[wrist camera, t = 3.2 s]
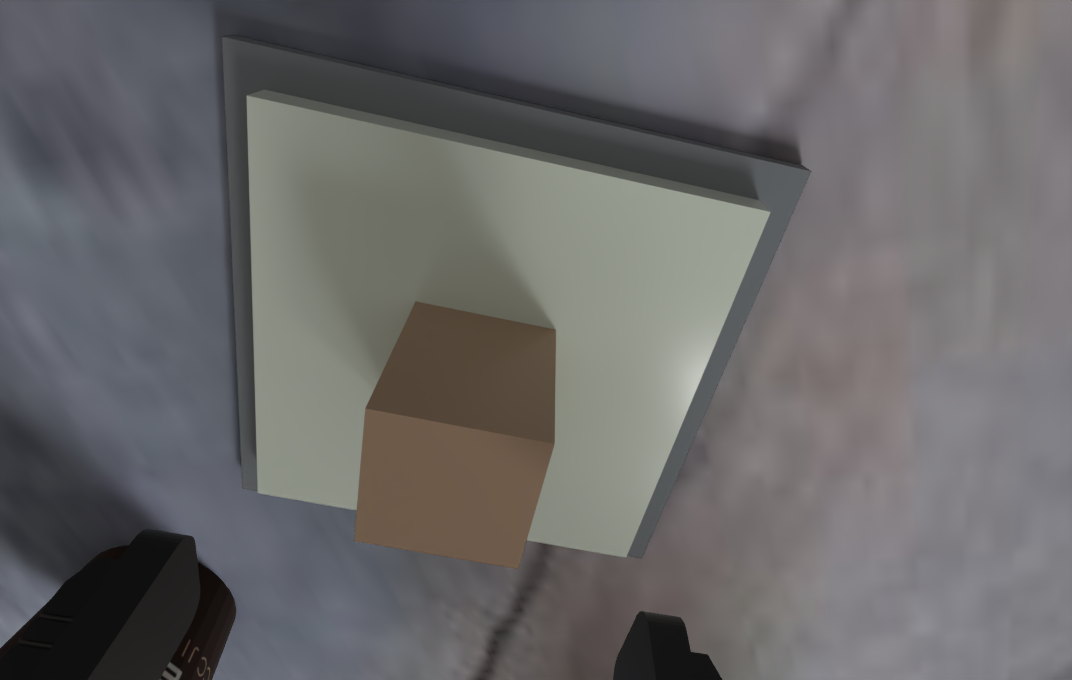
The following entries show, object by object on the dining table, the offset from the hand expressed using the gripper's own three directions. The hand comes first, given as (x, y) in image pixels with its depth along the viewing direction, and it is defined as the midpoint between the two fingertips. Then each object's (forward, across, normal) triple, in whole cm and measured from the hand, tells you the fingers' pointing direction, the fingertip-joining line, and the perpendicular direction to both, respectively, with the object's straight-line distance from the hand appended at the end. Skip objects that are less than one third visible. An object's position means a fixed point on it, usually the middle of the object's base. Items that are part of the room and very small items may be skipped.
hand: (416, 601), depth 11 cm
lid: (+9, 0, 0) cm, 9 cm away
